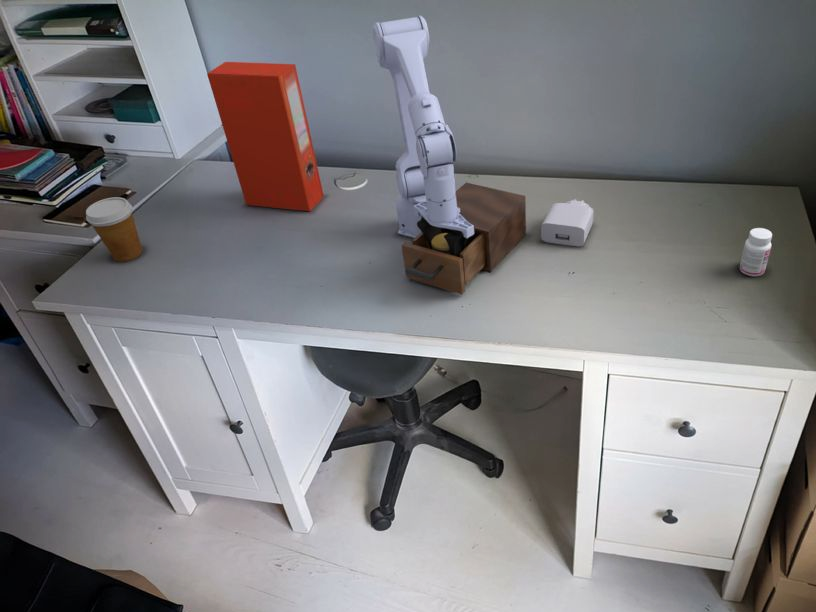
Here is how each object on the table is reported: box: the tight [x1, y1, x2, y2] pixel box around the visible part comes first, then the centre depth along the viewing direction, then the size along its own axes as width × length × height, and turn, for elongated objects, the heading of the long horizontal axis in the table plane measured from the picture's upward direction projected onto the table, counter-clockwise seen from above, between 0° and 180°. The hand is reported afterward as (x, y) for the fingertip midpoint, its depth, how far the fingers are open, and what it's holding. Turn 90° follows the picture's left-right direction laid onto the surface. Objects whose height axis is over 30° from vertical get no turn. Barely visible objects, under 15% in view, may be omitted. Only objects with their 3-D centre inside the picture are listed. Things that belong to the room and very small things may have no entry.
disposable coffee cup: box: [85, 196, 143, 263], centre depth 155 cm, size 10×10×12 cm
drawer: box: [401, 228, 487, 295], centre depth 141 cm, size 19×13×8 cm
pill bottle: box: [739, 227, 773, 277], centre depth 136 cm, size 5×5×8 cm
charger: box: [540, 198, 595, 247], centre depth 154 cm, size 5×9×15 cm
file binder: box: [206, 61, 324, 212], centre depth 163 cm, size 8×17×32 cm, turn 73°
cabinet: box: [456, 182, 527, 273], centre depth 149 cm, size 16×15×10 cm
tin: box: [431, 233, 451, 255], centre depth 140 cm, size 6×6×5 cm
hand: (446, 255), depth 141 cm, fingers closed on tin, 5 cm apart
